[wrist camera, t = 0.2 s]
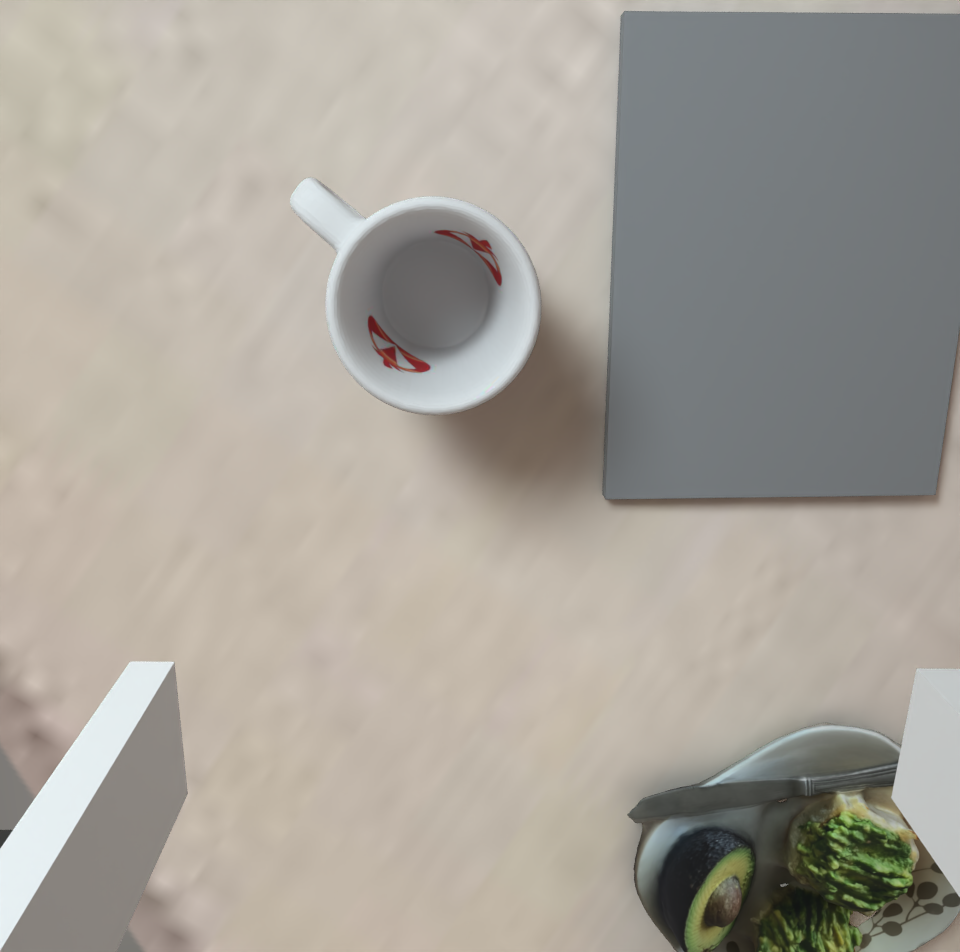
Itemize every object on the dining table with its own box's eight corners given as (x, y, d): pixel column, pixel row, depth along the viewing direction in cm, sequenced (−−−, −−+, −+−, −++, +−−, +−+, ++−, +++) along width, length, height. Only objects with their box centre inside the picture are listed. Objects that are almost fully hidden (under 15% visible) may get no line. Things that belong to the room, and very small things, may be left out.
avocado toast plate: (895, 626, 46) (943, 669, 42) (1032, 863, 51) (1088, 925, 46) (579, 811, 48) (592, 870, 44) (736, 1022, 53) (763, 1095, 49)
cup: (259, 263, 40) (215, 273, 32) (371, 116, 38) (353, 90, 30) (447, 414, 42) (448, 458, 34) (559, 282, 40) (587, 296, 33)
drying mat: (620, 15, 37) (624, 11, 37) (993, 18, 38) (1005, 14, 37) (602, 494, 43) (605, 499, 42) (926, 490, 44) (935, 495, 43)
